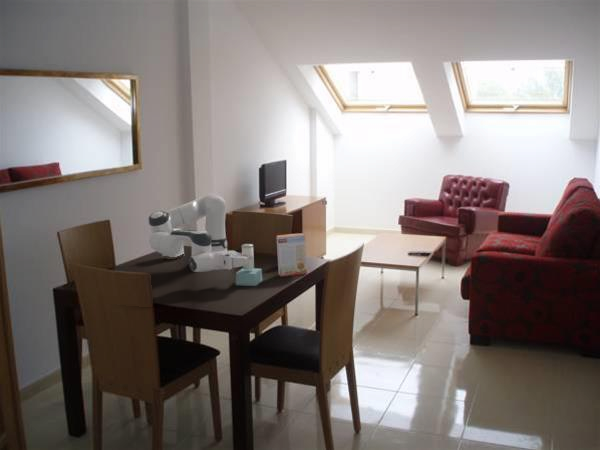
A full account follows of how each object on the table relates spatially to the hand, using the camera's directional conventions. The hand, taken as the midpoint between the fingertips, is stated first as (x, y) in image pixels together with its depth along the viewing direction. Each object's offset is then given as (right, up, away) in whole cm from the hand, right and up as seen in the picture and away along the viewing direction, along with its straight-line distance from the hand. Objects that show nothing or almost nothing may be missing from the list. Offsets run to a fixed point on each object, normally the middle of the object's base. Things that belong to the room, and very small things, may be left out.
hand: (249, 256), depth 328 cm
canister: (-1, -6, +1) cm, 6 cm away
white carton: (-50, -4, +64) cm, 81 cm away
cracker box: (+21, -10, +15) cm, 28 cm away
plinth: (0, -13, +2) cm, 13 cm away
